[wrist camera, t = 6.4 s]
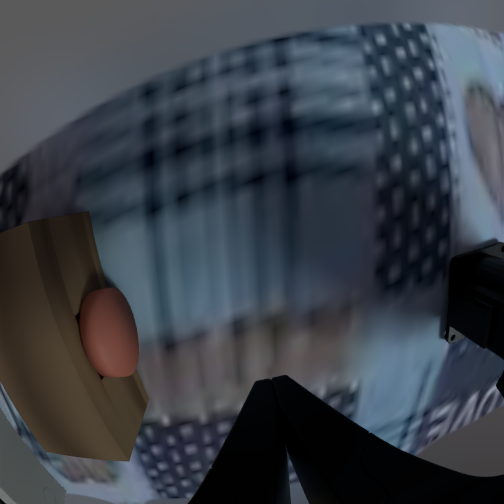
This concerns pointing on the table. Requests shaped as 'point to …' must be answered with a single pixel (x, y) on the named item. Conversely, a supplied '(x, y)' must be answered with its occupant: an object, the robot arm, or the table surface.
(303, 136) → the table surface
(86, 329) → the pin
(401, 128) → the table surface
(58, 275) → the block
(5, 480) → the white curved piece
